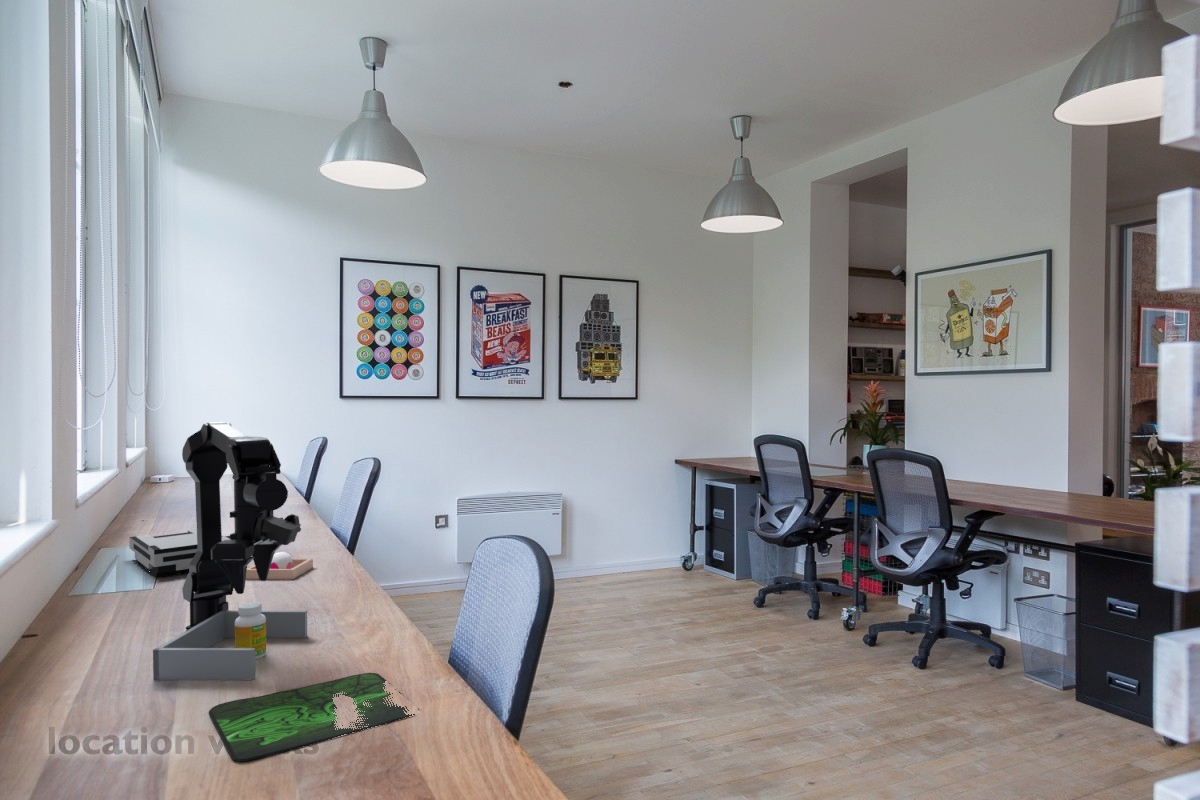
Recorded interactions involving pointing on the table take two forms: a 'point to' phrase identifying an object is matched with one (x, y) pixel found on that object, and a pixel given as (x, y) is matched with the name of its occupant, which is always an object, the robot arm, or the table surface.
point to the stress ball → (281, 561)
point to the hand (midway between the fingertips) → (252, 587)
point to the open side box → (200, 662)
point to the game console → (166, 552)
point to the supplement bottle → (251, 628)
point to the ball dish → (283, 570)
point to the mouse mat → (299, 716)
